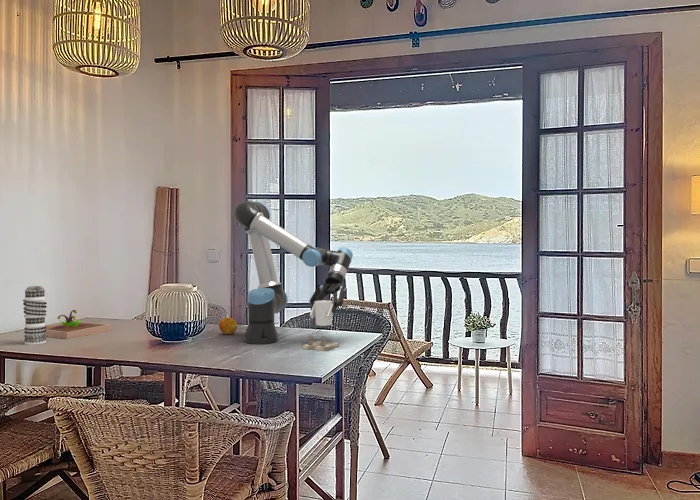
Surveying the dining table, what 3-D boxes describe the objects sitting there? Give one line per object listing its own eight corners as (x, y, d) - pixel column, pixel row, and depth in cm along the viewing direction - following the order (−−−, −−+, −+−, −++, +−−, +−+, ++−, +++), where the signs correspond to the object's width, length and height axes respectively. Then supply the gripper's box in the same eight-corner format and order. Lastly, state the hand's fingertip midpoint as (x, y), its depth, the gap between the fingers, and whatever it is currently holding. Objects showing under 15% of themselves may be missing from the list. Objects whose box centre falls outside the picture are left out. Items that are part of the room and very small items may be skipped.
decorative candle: (20, 342, 248) (19, 286, 247) (43, 340, 255) (42, 285, 254) (27, 345, 242) (26, 287, 241) (50, 342, 249) (49, 286, 248)
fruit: (234, 335, 267) (234, 318, 267) (217, 335, 267) (217, 318, 267) (238, 332, 276) (238, 316, 275) (221, 332, 276) (221, 316, 275)
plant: (101, 332, 278) (101, 309, 278) (62, 338, 262) (62, 314, 262) (78, 328, 290) (78, 306, 289) (40, 333, 273) (40, 310, 273)
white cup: (330, 326, 235) (330, 302, 235) (312, 325, 237) (312, 302, 237) (334, 323, 243) (334, 300, 243) (317, 323, 245) (316, 300, 244)
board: (302, 348, 236) (302, 335, 236) (314, 344, 246) (314, 331, 246) (327, 350, 231) (327, 337, 231) (339, 346, 241) (339, 333, 241)
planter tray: (30, 334, 268) (30, 328, 268) (75, 327, 291) (75, 321, 291) (67, 338, 258) (67, 332, 258) (110, 330, 281) (110, 324, 281)
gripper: (359, 282, 249) (344, 324, 235) (318, 281, 258) (301, 321, 243) (354, 271, 244) (339, 313, 230) (313, 270, 253) (295, 310, 238)
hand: (319, 317), depth 237 cm, fingers closed on white cup, 8 cm apart
